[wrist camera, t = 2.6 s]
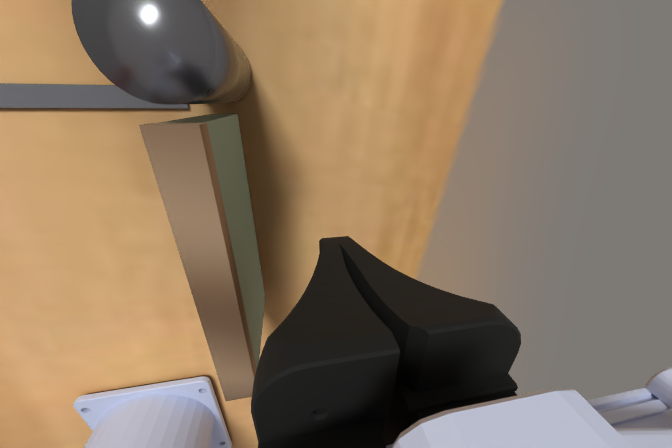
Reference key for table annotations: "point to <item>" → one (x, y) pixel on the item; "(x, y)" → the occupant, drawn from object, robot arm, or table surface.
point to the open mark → (71, 97)
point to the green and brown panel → (214, 236)
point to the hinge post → (163, 50)
